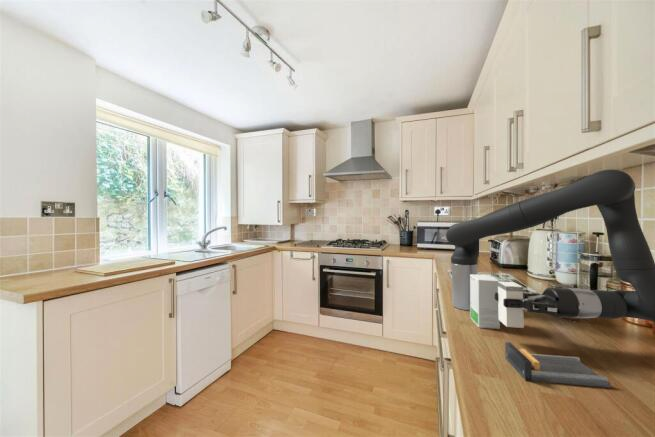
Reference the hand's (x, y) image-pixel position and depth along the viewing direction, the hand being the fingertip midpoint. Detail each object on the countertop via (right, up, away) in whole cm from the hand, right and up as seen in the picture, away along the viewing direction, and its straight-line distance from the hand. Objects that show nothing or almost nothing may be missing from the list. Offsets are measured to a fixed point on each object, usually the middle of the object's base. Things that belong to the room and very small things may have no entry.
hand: (499, 299), depth 72 cm
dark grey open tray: (+2, -12, -14) cm, 19 cm away
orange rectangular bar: (-2, -11, -13) cm, 17 cm away
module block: (+3, -6, -1) cm, 7 cm away
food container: (+35, -12, +18) cm, 41 cm away
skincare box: (+4, -12, +13) cm, 18 cm away
